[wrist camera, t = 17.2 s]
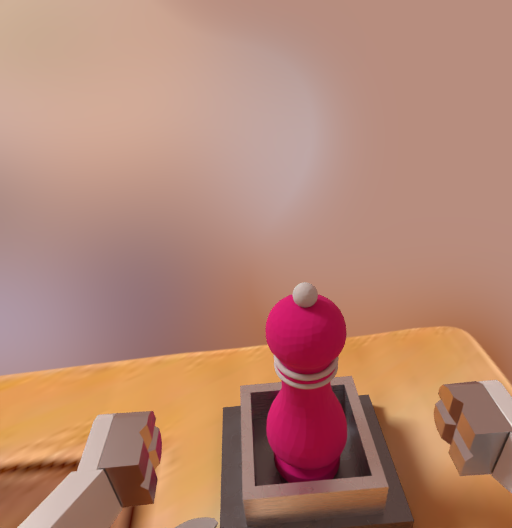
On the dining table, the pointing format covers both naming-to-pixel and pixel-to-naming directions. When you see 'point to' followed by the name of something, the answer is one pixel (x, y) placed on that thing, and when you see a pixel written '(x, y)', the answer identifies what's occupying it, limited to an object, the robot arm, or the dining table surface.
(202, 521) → the adjustable wrench
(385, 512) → the socket stand
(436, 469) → the dining table surface
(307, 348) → the pepper mill
